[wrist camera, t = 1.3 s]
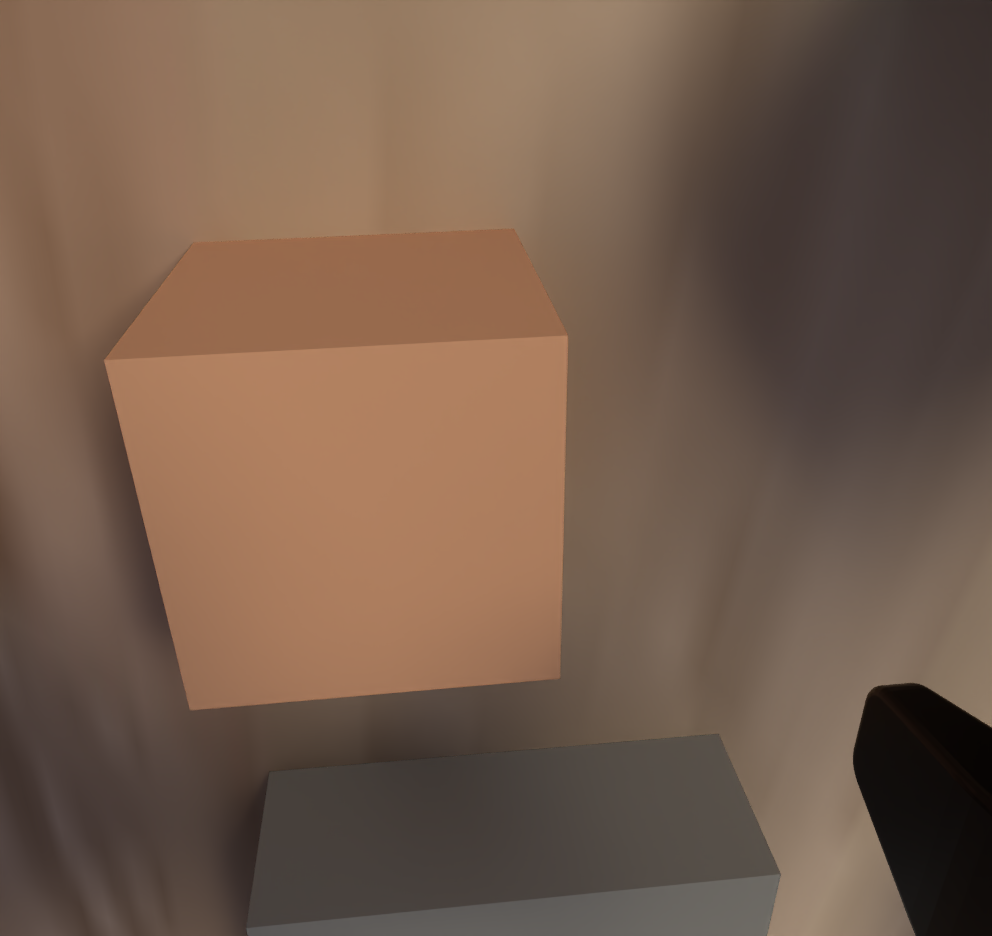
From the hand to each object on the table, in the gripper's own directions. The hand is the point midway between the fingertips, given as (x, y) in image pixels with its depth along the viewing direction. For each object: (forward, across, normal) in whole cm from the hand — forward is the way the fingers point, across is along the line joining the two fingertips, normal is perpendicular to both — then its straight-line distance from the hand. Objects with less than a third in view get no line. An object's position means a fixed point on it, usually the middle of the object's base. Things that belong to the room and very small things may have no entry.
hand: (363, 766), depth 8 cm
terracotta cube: (+9, 0, 0) cm, 9 cm away
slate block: (+9, -2, +14) cm, 17 cm away
